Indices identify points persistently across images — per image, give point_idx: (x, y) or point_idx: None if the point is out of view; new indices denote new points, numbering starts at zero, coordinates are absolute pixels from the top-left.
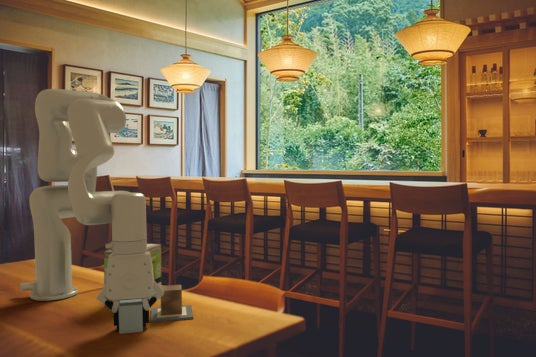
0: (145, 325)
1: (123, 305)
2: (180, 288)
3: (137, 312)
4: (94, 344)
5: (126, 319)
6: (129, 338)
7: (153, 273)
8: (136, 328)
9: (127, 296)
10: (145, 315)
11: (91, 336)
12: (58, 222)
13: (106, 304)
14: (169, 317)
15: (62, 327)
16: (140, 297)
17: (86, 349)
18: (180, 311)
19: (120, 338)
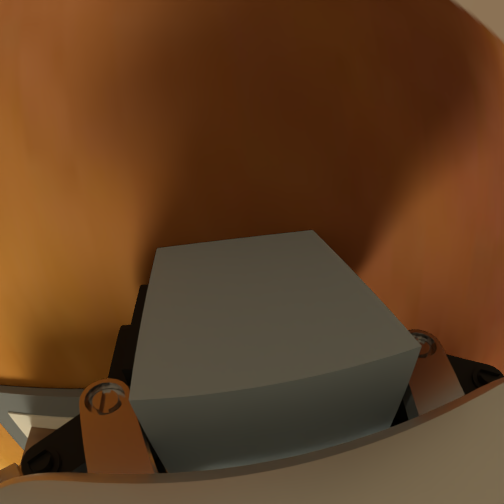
0: (139, 291)
1: (370, 382)
2: None
3: (189, 330)
4: (424, 75)
5: (292, 282)
6: (230, 117)
7: None
8: (199, 254)
9: (385, 479)
10: (129, 343)
11: (443, 209)
12: None
13: (491, 367)
14: (66, 409)
15: (495, 325)
16: (133, 491)
17: (441, 22)
18: (33, 436)
19: (295, 131)
